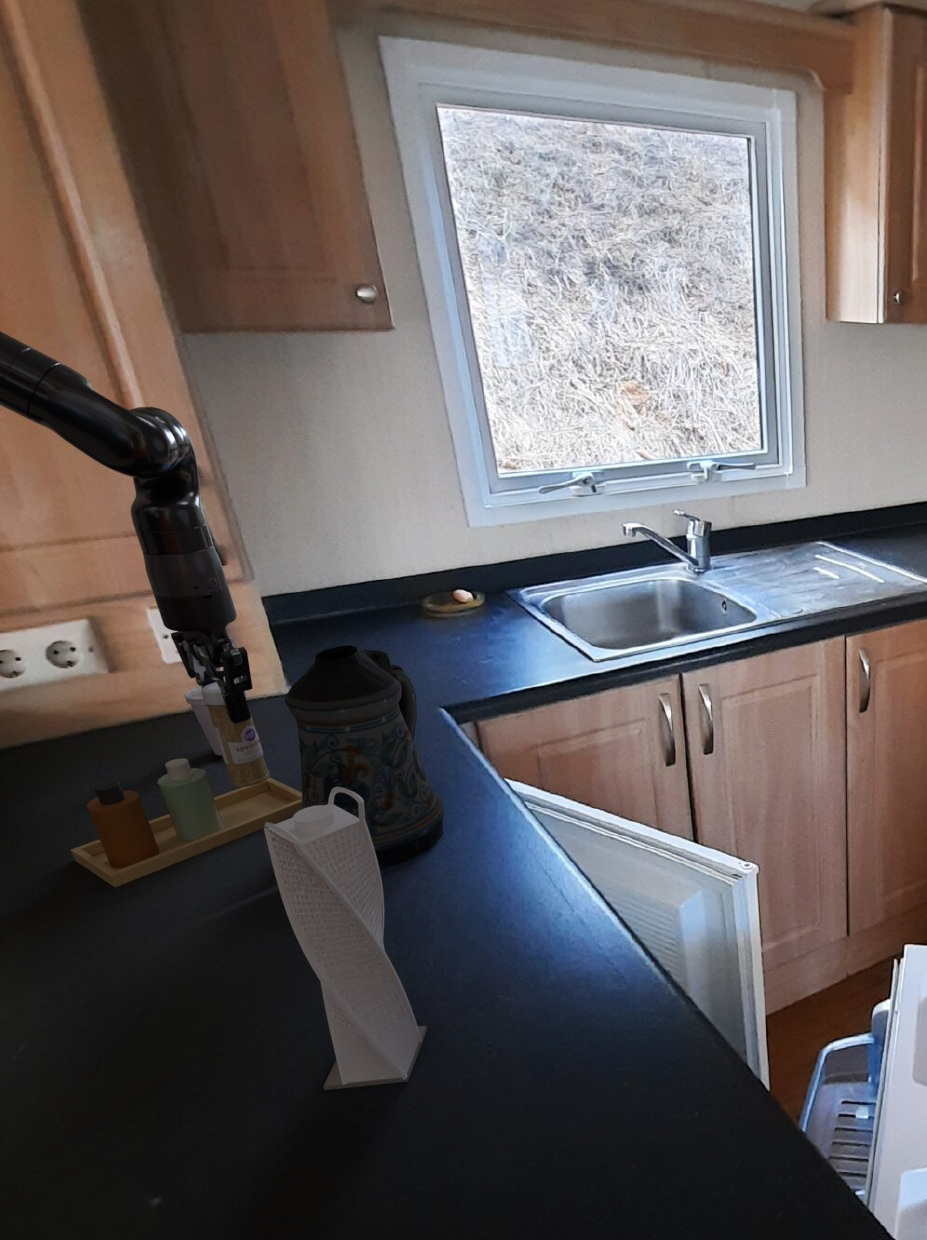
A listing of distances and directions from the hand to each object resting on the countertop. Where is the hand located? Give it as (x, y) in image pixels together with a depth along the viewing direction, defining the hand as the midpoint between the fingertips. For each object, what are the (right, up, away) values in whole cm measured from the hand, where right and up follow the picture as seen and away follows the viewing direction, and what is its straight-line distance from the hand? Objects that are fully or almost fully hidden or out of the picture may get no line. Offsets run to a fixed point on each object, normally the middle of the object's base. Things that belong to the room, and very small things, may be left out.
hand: (230, 715), depth 125 cm
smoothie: (-16, -4, +24) cm, 29 cm away
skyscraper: (+38, -34, -35) cm, 62 cm away
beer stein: (+18, -16, +2) cm, 24 cm away
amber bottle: (-8, -18, -5) cm, 20 cm away
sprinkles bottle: (0, -9, +4) cm, 10 cm away
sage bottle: (-4, -15, +1) cm, 16 cm away
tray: (-4, -16, +1) cm, 16 cm away
